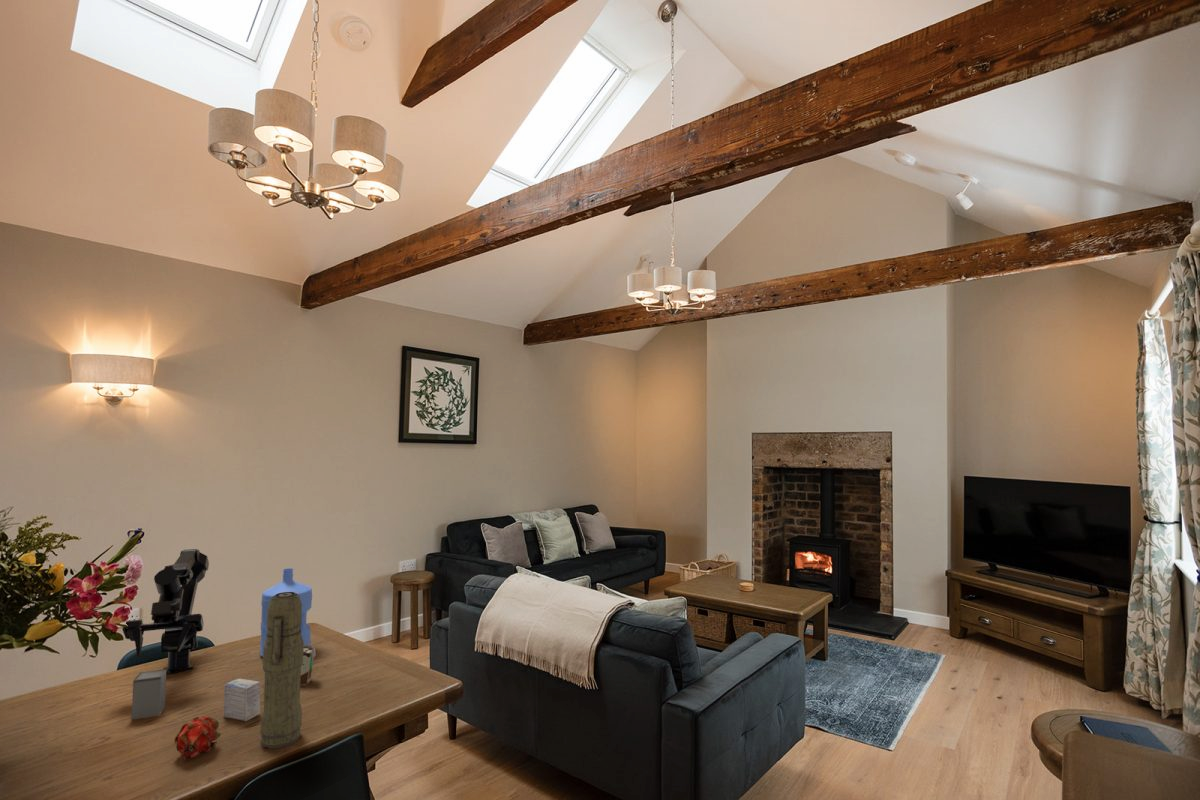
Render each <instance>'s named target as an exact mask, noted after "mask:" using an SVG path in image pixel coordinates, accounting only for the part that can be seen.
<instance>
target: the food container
mask: <svg viewBox="0 0 1200 800" xmlns="http://www.w3.org/2000/svg"><path fill="white" fill-rule="evenodd" d="M316 655H317V653H316V649H315V647H314V645H312V644H311V645H308V644H304V645H303V663H302V666H301V676H300V684H308V683H309V682H310V683H311V679H312V673H313V671H312V670H313V665H314V664H313V662H314V658H315V657H316ZM310 683H309V684H310ZM309 684H308V685H309Z"/></svg>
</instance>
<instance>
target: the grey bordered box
mask: <svg viewBox="0 0 1200 800" xmlns="http://www.w3.org/2000/svg"><path fill="white" fill-rule="evenodd" d="M166 682H167V671H166V669H164V670H163V669H158V670H151V671H150V670H148V671H142V672H139V673H138V674H137V676H135V678H134V679H133V681H132V701H131V720H132V719H134V720H139V719H146V718H152V717H158V716H161V713H162V712H163V710H164V709H165V707H166V687H167V686H166V685H167V683H166Z"/></svg>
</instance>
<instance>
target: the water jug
mask: <svg viewBox="0 0 1200 800" xmlns="http://www.w3.org/2000/svg"><path fill="white" fill-rule="evenodd" d="M282 571H283V573H282V581H281V582H279V583H277V584H276V585H273V586H272V587H269V588H268V589H266V590H264V591H263V592H262V595H261V619H260V620H261V622H260V647H259V655H260V656H261V657H262V658H263V647H264V644H265V642H266V639H267V633H268V629H267V610H268V606H269V603H270V600H271V598H272V596H274V595H276V594H278V593H282V592H295V593H297V594H299V597H300V600H301V603H302V620H301V625H300V629H301V636H302V639H303V642H304V644H308V645H312V640H311V638H312V637H311V635H312V634H311V633H312V628H311V626H310V625H308V624H307V617H308V615H307V613H308V611H310V610H311V609H312V601H313V589H312V587H311V586H310V585H307V584H304V583H301V582H298V581H295V580H294V579H293V578H294V573H293V571H294V568H284V569H283V570H282Z"/></svg>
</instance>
